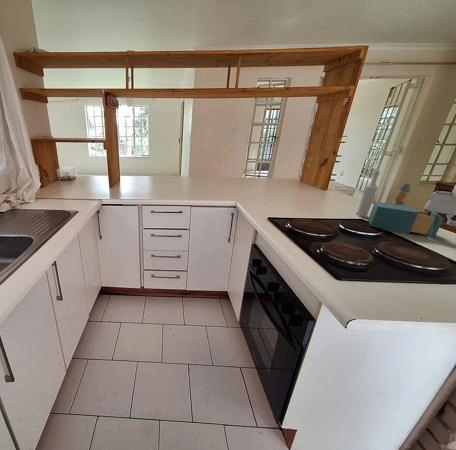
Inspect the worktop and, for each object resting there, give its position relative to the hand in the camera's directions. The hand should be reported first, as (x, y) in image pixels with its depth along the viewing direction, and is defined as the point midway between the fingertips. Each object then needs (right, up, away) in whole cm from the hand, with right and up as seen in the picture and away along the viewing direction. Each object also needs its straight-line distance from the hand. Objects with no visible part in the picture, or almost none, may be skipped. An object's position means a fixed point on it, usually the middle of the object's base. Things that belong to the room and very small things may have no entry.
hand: (451, 224), depth 104 cm
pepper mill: (-3, +2, +24) cm, 24 cm away
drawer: (-9, -2, +8) cm, 12 cm away
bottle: (-13, +5, +31) cm, 34 cm away
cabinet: (-16, -1, +13) cm, 21 cm away
